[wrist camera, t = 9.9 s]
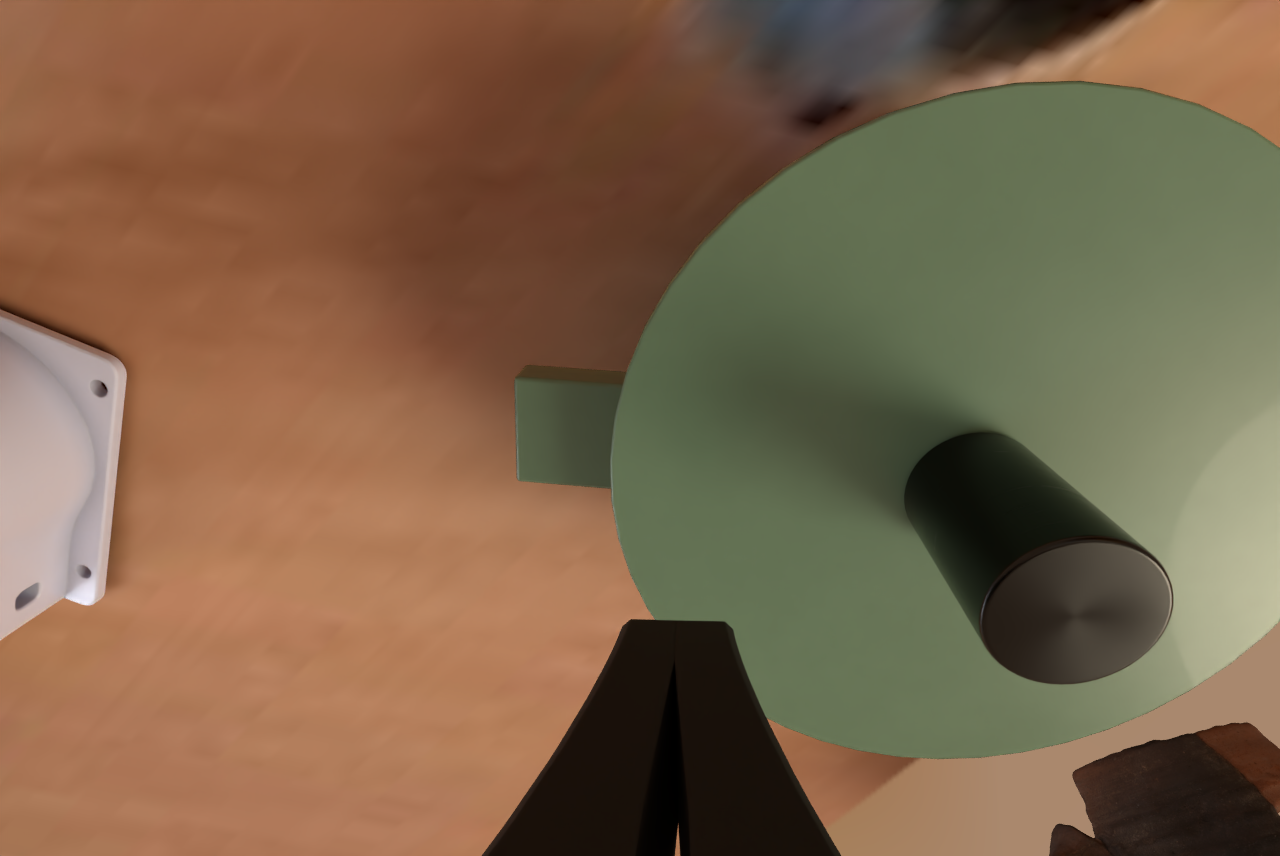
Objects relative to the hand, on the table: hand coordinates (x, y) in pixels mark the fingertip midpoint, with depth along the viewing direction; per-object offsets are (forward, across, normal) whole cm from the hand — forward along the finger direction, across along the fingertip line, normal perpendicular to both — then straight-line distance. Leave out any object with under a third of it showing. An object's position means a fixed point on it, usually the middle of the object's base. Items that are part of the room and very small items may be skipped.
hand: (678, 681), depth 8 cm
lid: (+5, -5, -1) cm, 7 cm away
